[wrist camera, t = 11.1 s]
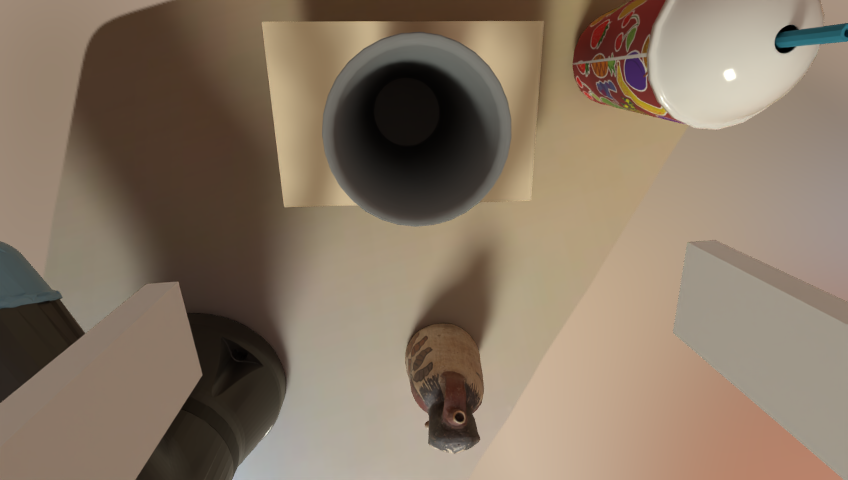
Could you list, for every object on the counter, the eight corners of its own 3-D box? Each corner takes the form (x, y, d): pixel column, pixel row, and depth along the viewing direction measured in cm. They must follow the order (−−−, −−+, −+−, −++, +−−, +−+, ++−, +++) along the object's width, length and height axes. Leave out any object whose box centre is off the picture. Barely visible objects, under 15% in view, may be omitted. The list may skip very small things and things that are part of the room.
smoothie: (565, 125, 37) (742, 167, 18) (548, 19, 34) (738, -62, 15) (661, 97, 37) (943, 112, 18) (653, -12, 34) (977, -131, 15)
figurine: (399, 377, 44) (401, 477, 33) (412, 316, 42) (418, 401, 31) (467, 386, 45) (492, 486, 34) (483, 326, 43) (515, 412, 32)
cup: (467, 71, 29) (536, 59, 15) (443, 171, 31) (483, 242, 17) (366, 46, 28) (338, 8, 14) (348, 150, 30) (309, 207, 16)
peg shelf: (301, 187, 37) (284, 207, 31) (284, 32, 33) (261, 21, 27) (510, 183, 38) (530, 200, 32) (518, 31, 34) (544, 20, 28)
